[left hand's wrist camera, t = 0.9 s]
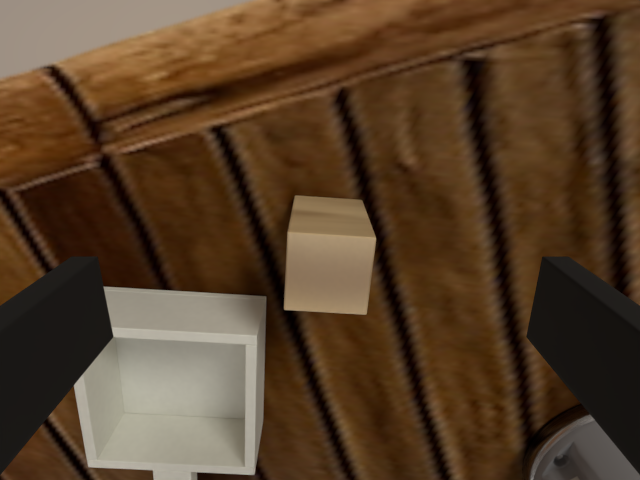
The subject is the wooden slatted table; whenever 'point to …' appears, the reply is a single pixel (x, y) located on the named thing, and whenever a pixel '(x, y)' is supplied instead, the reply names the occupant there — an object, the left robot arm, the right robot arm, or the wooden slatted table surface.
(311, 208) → the birch block
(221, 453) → the handled bin
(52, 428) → the wooden slatted table surface
